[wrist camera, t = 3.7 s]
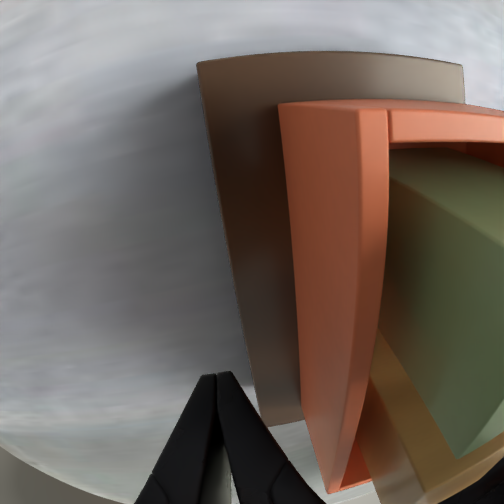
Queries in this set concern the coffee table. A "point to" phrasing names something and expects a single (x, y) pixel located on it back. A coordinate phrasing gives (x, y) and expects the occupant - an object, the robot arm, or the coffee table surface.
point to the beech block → (411, 440)
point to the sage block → (448, 288)
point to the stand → (274, 183)
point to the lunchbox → (353, 244)
